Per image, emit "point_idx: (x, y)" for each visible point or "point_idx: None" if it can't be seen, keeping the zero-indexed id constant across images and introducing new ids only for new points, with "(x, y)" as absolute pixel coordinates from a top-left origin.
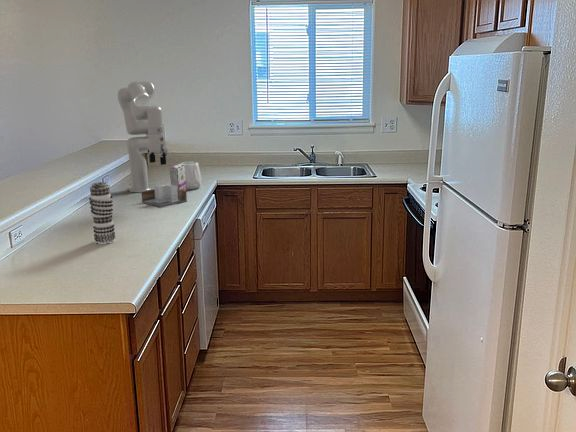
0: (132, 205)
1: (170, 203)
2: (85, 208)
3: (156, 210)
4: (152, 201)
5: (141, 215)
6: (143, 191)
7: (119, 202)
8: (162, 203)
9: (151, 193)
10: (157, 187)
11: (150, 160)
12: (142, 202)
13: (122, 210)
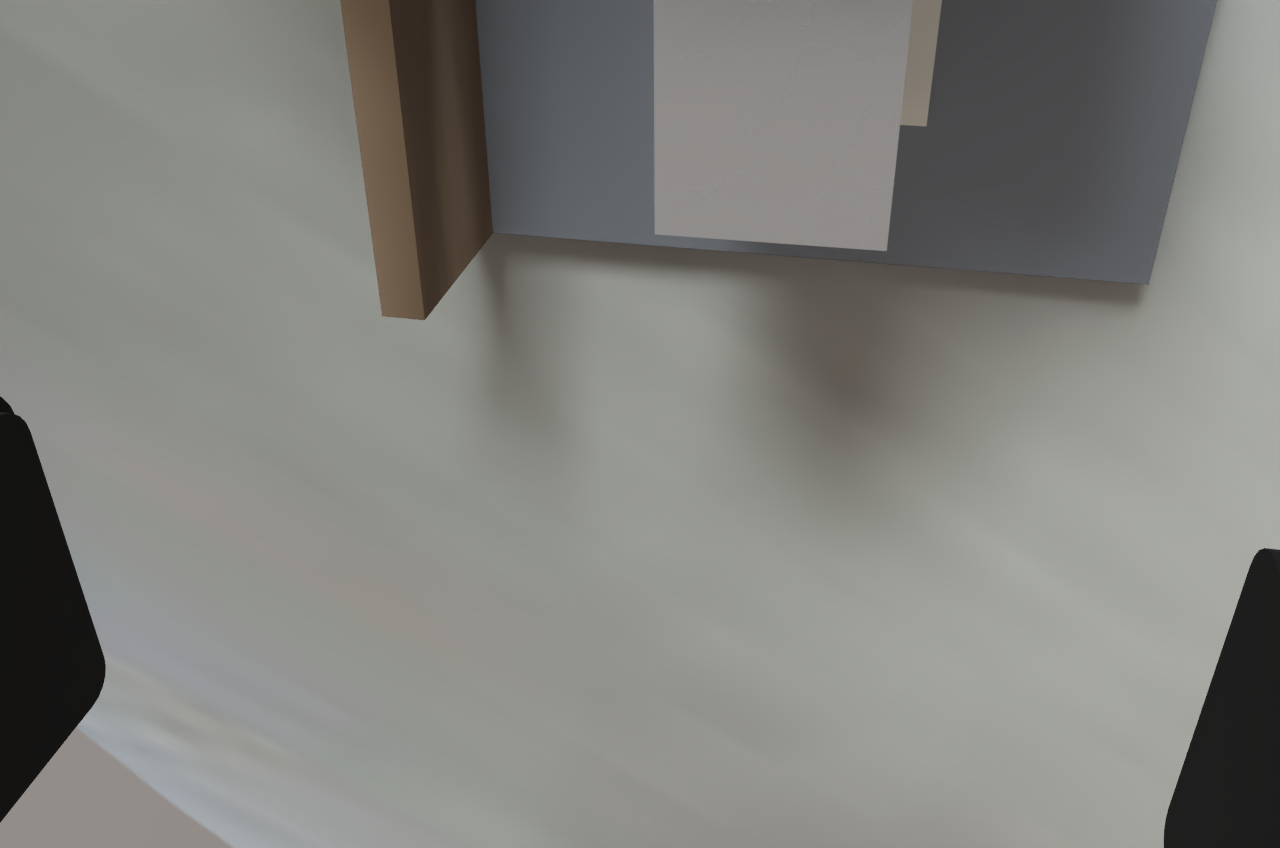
0: (535, 441)
1: (1214, 1)
2: (229, 814)
3: (1253, 458)
4: None
5: None
6: (390, 271)
7: (177, 421)
8: (1042, 136)
9: (427, 42)
10: (826, 242)
11: (10, 772)
12: None
13: (711, 698)
